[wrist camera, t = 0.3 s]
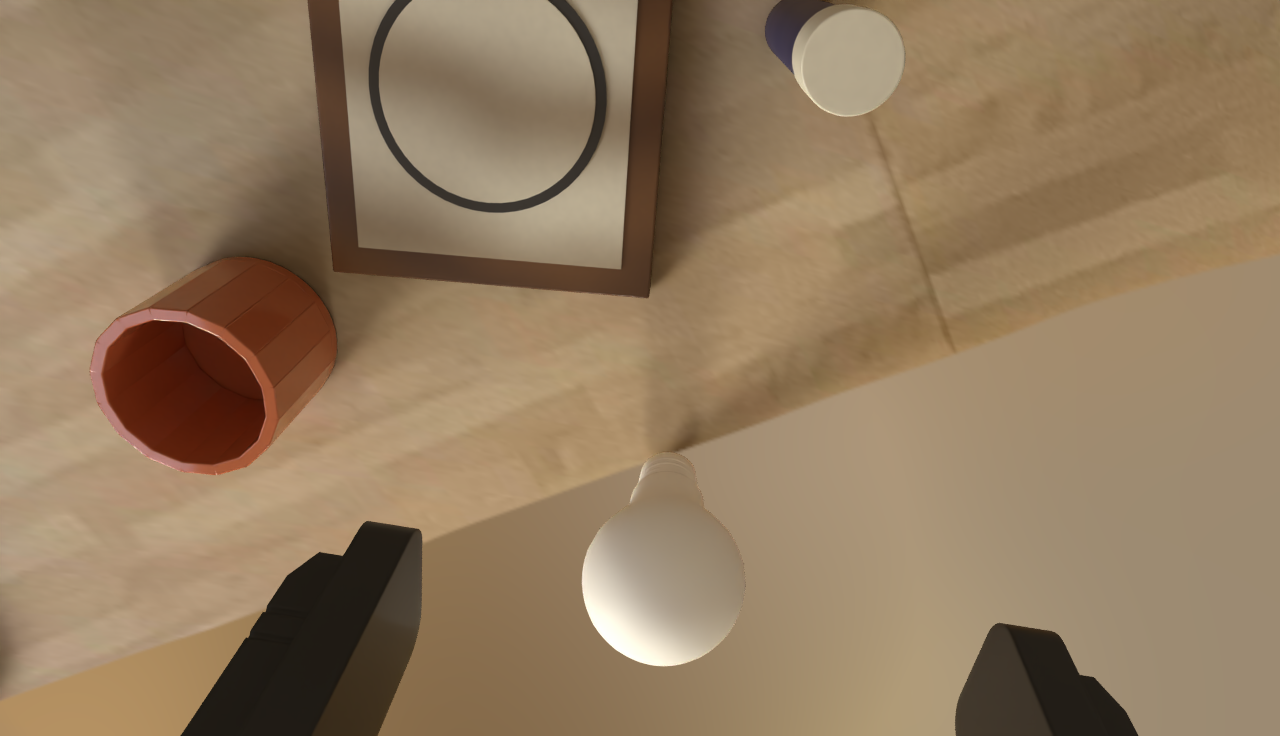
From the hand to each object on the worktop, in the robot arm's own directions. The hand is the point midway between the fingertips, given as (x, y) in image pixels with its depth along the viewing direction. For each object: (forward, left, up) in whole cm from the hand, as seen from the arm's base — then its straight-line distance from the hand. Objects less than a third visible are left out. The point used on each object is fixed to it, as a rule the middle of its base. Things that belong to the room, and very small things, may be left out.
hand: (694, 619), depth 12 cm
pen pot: (+8, -18, -24) cm, 31 cm away
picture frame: (-3, -8, -24) cm, 25 cm away
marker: (-6, +3, -24) cm, 25 cm away
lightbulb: (+13, 0, -24) cm, 27 cm away
